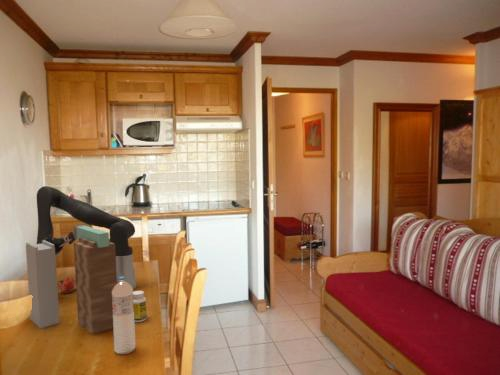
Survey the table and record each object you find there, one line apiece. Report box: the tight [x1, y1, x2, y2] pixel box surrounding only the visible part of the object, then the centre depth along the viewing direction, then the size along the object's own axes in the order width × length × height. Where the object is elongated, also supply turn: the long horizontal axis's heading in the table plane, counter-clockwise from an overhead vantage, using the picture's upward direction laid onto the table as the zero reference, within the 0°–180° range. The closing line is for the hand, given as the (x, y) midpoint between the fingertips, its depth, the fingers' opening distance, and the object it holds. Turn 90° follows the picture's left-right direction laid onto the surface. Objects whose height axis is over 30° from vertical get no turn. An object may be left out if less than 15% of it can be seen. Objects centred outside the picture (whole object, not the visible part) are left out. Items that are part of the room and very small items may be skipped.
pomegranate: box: [58, 276, 76, 294], centre depth 197 cm, size 7×7×10 cm
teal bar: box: [73, 224, 110, 248], centre depth 158 cm, size 24×4×5 cm, turn 44°
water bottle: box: [111, 276, 136, 355], centre depth 137 cm, size 7×7×25 cm
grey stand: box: [25, 240, 60, 329], centre depth 162 cm, size 12×7×31 cm, turn 44°
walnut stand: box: [73, 237, 117, 335], centre depth 157 cm, size 14×10×34 cm
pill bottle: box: [133, 290, 148, 323], centre depth 162 cm, size 6×6×11 cm
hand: (61, 235), depth 177 cm, fingers open, 8 cm apart
